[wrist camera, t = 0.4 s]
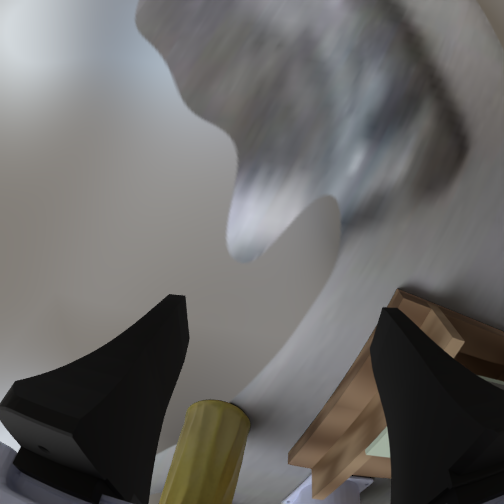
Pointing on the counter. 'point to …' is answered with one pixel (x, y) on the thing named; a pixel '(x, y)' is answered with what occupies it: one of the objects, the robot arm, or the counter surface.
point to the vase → (207, 455)
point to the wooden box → (368, 400)
